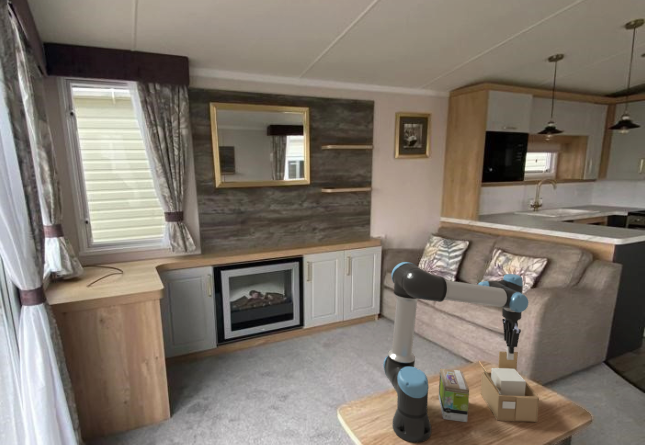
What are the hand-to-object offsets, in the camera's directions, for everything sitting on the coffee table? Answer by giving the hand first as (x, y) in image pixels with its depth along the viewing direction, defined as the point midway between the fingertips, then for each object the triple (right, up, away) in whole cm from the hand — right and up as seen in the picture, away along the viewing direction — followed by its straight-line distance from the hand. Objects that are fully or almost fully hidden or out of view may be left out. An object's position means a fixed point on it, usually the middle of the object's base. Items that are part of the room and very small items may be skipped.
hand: (509, 358), depth 156 cm
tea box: (-29, -20, -6) cm, 35 cm away
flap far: (0, -2, +1) cm, 2 cm away
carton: (-4, -19, -5) cm, 20 cm away
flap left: (-14, -4, -9) cm, 17 cm away
